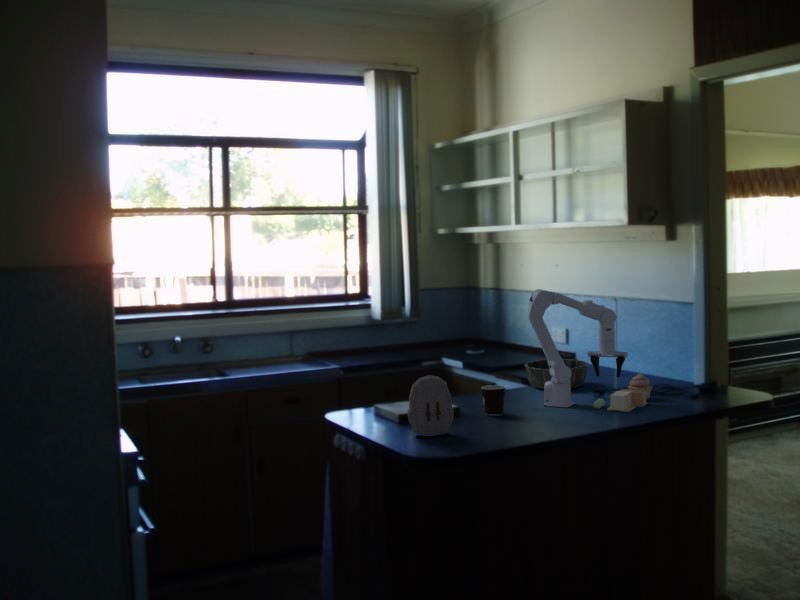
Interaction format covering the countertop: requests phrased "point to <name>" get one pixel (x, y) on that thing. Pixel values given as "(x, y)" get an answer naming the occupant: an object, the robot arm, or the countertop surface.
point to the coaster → (622, 410)
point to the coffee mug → (493, 398)
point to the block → (620, 400)
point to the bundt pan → (541, 374)
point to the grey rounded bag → (430, 406)
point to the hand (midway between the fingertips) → (608, 376)
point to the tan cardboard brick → (637, 397)
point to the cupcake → (640, 384)
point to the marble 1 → (597, 404)
